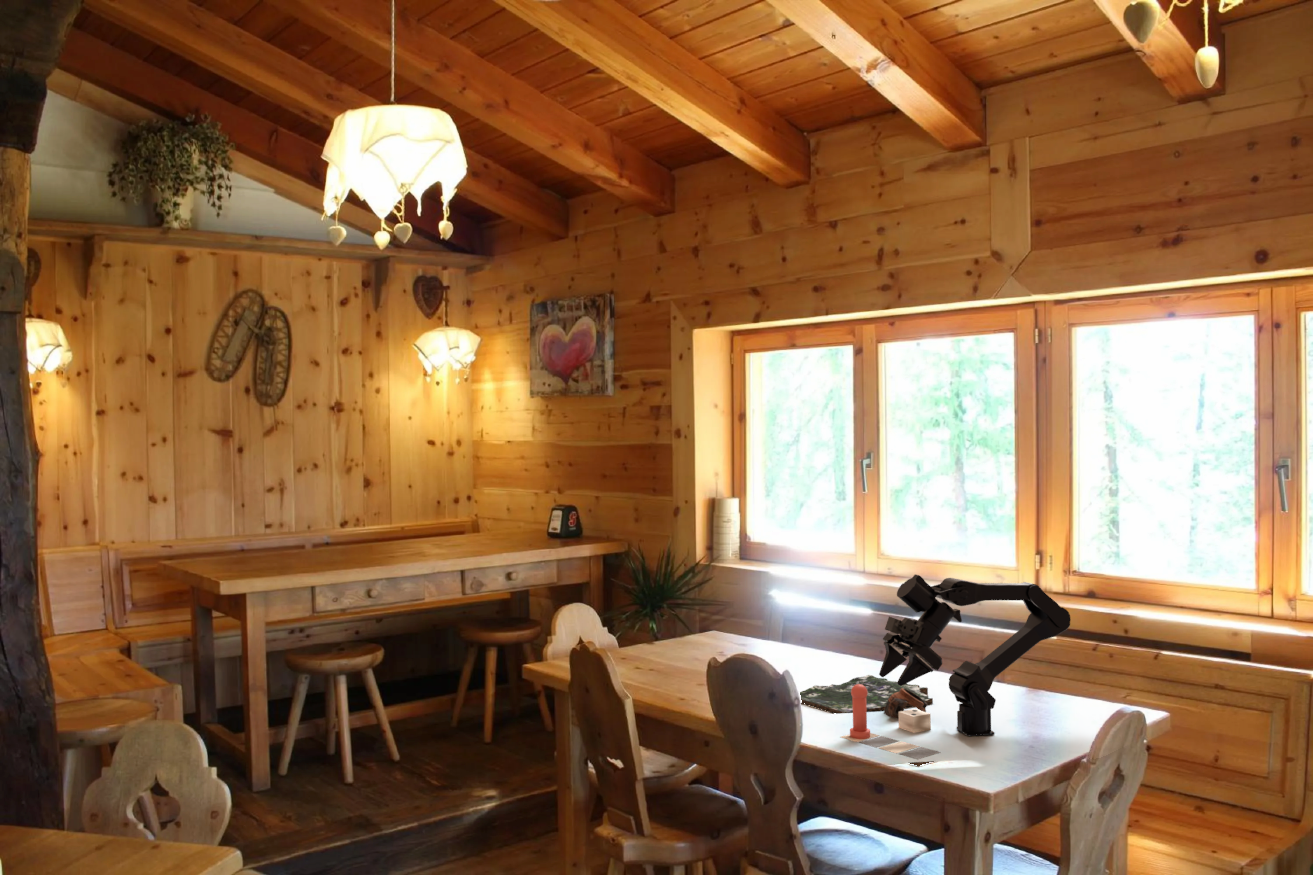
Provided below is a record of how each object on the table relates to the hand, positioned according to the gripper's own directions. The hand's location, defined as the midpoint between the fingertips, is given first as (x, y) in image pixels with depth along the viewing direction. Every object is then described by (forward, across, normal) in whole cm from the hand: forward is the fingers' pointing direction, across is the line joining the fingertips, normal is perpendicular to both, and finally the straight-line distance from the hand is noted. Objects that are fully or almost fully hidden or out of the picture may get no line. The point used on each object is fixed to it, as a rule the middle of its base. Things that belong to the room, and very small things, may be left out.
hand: (889, 680), depth 232 cm
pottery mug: (+4, -14, +16) cm, 22 cm away
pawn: (+14, 0, +2) cm, 14 cm away
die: (+5, -2, +14) cm, 15 cm away
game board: (+13, +8, +6) cm, 16 cm away
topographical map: (+4, -35, +17) cm, 39 cm away
